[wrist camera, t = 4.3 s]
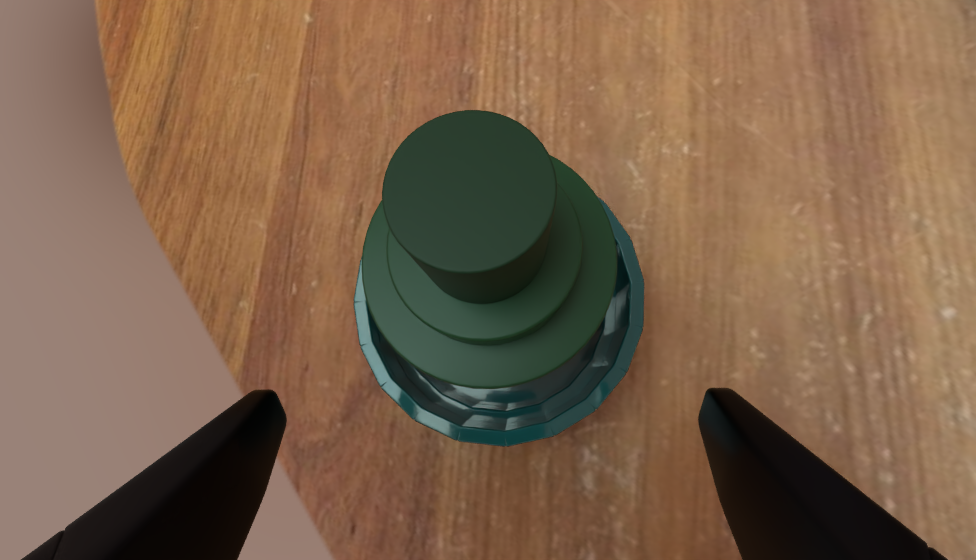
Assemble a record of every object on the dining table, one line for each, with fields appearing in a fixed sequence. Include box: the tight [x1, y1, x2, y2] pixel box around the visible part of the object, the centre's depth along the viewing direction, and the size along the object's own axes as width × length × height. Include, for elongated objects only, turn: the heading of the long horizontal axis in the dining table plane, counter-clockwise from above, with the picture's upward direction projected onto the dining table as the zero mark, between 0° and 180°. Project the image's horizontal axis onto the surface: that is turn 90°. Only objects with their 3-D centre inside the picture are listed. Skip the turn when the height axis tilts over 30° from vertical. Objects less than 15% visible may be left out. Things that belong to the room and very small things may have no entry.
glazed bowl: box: [354, 197, 644, 447], centre depth 18 cm, size 10×10×5 cm
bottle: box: [362, 110, 617, 389], centre depth 13 cm, size 6×6×13 cm
